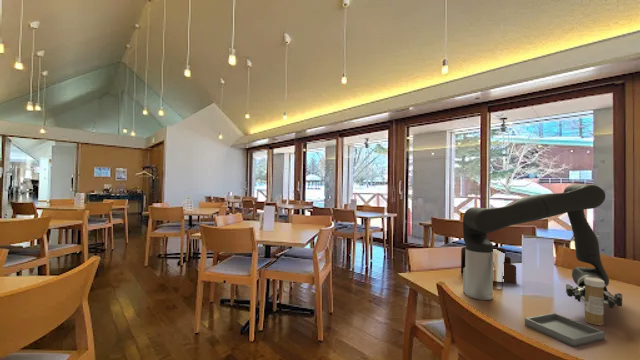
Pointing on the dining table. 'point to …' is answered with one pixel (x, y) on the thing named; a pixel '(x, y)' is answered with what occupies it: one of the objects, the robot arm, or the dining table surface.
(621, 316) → the dining table surface
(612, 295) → the robot arm
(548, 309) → the dining table surface
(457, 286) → the dining table surface
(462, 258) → the letter holder
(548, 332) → the condiment tray
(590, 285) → the sprinkles bottle
